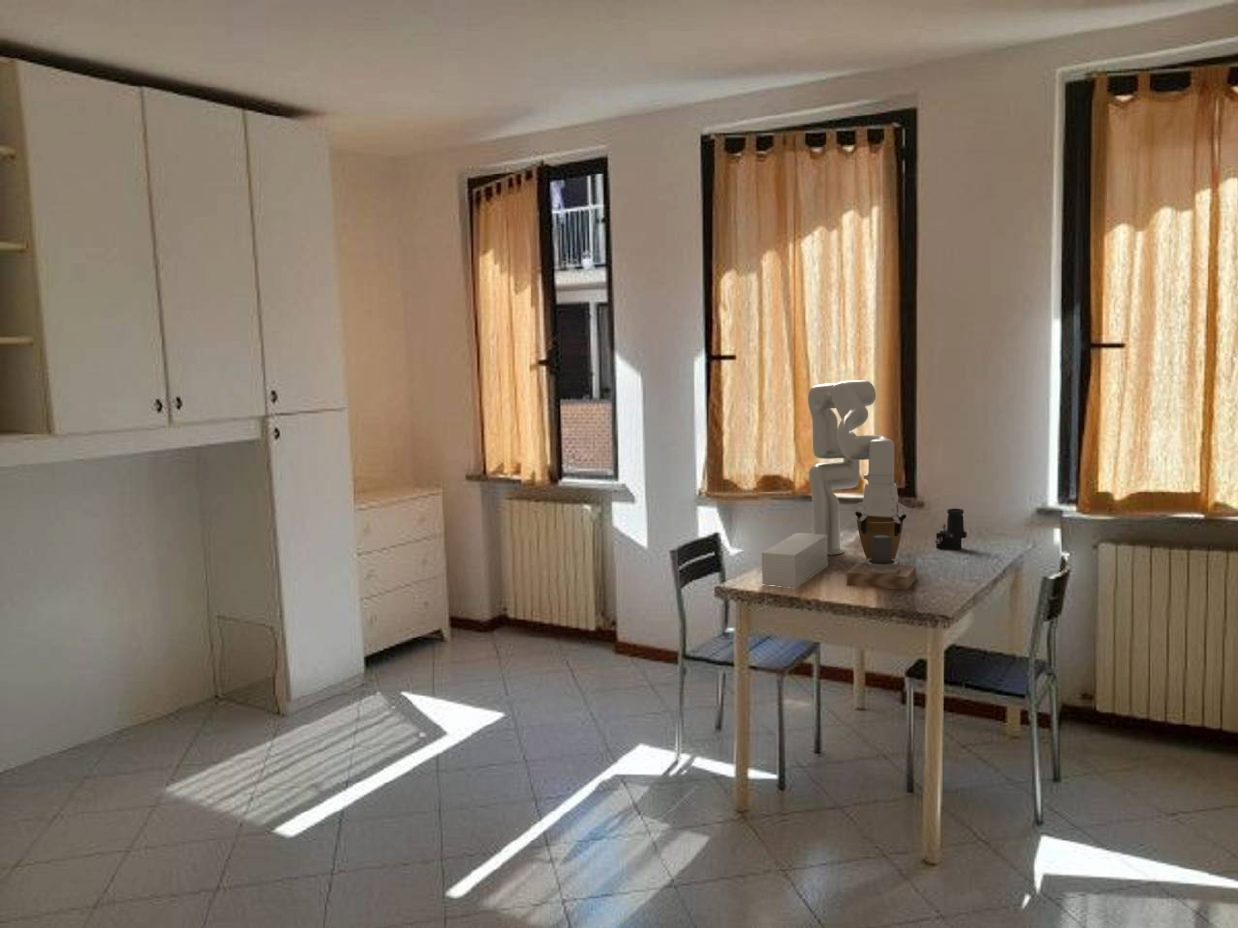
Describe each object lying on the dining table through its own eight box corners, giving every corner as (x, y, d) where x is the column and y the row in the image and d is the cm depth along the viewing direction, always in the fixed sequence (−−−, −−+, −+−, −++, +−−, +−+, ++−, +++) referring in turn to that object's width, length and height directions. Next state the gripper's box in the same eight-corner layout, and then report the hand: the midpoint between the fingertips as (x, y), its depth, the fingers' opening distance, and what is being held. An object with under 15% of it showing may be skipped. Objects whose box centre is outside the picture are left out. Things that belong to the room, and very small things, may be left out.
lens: (869, 570, 297) (869, 538, 296) (873, 566, 303) (873, 534, 301) (889, 572, 295) (889, 539, 293) (893, 567, 300) (893, 535, 299)
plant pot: (904, 561, 324) (904, 514, 322) (901, 572, 310) (901, 522, 308) (859, 559, 329) (859, 513, 327) (854, 569, 315) (854, 521, 313)
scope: (942, 506, 345) (970, 508, 339) (942, 544, 347) (970, 547, 341) (934, 510, 338) (963, 512, 332) (934, 549, 340) (962, 552, 334)
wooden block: (846, 585, 297) (846, 564, 296) (857, 574, 309) (857, 554, 308) (907, 590, 289) (907, 568, 288) (915, 578, 301) (915, 558, 300)
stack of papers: (796, 563, 328) (796, 532, 326) (827, 566, 322) (827, 534, 321) (762, 586, 300) (761, 552, 299) (795, 589, 295) (794, 555, 293)
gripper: (849, 480, 295) (849, 534, 298) (907, 482, 288) (907, 538, 290) (855, 476, 302) (855, 529, 305) (912, 478, 294) (911, 533, 297)
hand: (880, 534), depth 297 cm, fingers open, 9 cm apart
